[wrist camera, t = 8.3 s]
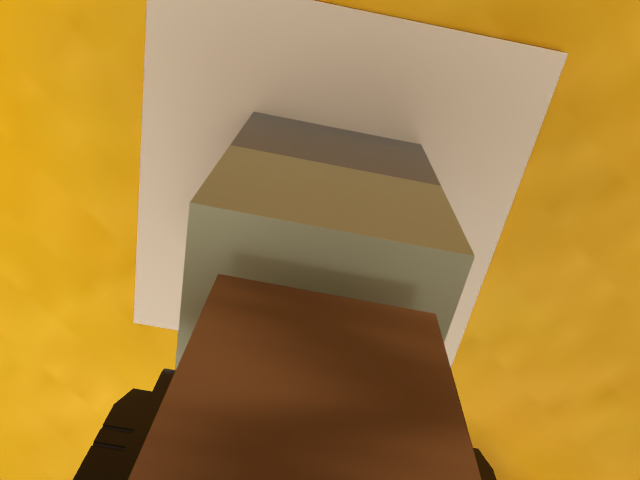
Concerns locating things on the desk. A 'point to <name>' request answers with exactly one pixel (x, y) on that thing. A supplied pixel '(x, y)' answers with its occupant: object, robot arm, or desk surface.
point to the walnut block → (308, 393)
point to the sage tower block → (322, 235)
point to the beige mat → (329, 114)
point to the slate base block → (336, 147)
